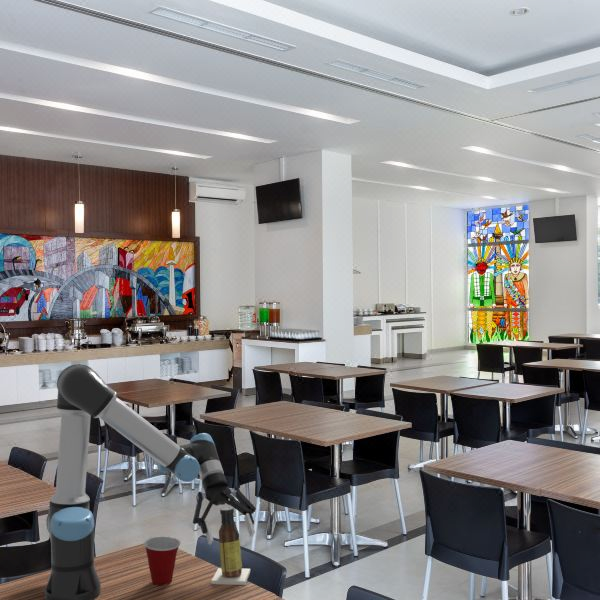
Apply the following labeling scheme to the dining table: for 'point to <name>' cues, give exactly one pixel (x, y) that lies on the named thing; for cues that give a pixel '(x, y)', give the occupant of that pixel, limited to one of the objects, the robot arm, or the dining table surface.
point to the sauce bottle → (229, 544)
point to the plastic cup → (161, 558)
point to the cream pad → (231, 578)
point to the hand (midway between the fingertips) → (232, 538)
